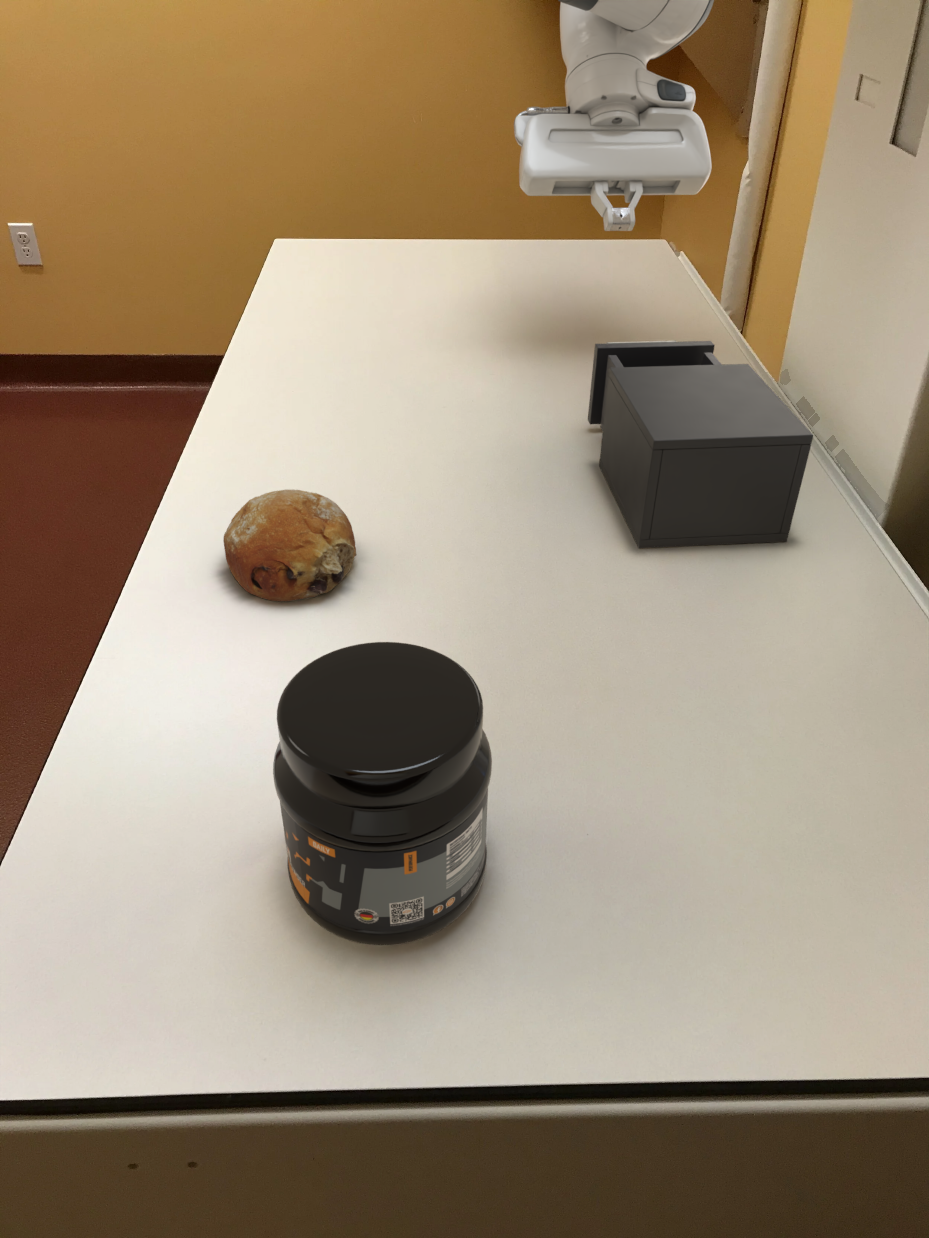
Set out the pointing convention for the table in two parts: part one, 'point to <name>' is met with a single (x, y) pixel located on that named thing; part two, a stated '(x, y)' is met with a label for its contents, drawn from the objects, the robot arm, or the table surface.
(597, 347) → the grey drawer
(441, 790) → the supplement container
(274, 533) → the bread roll
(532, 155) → the robot arm
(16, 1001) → the table surface
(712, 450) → the dark grey cabinet
